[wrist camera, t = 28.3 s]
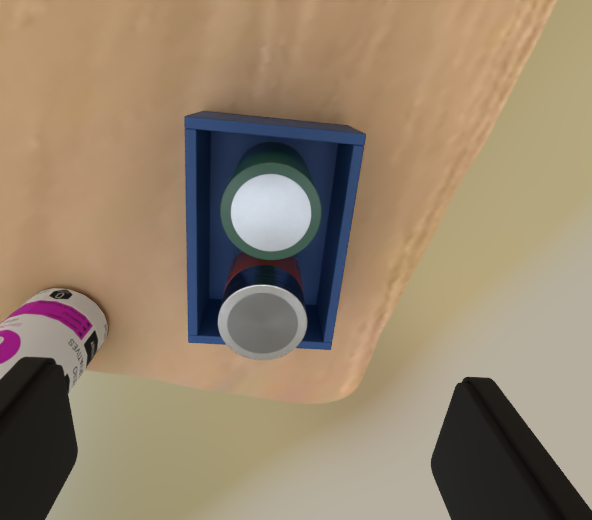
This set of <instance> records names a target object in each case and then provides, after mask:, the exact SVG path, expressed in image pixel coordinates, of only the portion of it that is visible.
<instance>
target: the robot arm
mask: <svg viewBox="0 0 592 520" xmlns="http://www.w3.org/2000/svg"><path fill="white" fill-rule="evenodd" d="M77 452H78V448H77V442H76V437H75V431H74V425H73V420H72V415H71V409H70V403H69V397H68V392H67V386H66V381H65V375H64V370H63V367H62V366H61V365H57V364H56V361H55V360H54V359H53V358H47V357H23V358H21V359H20V360H18V361H17V362H16V364H15V365H14V366H13V367H12V368H11V369H10V370H9V371H8V372H7V373H6V374H5V375H4V376H3V377H2V378H1V379H0V520H45V519H46V517H47V515H48V513H49V511H50V509H51V508H52V506H53V504H54V502H55V500H56V498H57V496H58V495H59V493H60V491H61V489H62V487H63V485H64V483H65V481H66V480H67V478H68V475H69V474H70V472H71V470H72V468H73V466H74V464H75V462H76V458H77ZM431 468H432V473H433V476H434V478H435V481H436V483H437V486H438V488H439V491H440V493H441V496H442V498H443V500H444V503H445V505H446V508H447V510H448V513H449V515H450V517H451V520H592V510H591V509H590V508H589V507H588V505H587V504H586V503H585V501H584V500H583V499H582V497H581V496H580V495H579V493H578V492H577V491H576V489H575V488H574V487H573V485H572V484H571V483H570V481H569V480H568V479H567V477H566V476H565V475H564V473H563V472H562V471H561V469H560V468H559V467H558V465H557V464H556V463H555V461H554V460H553V459H552V457H551V456H550V455H549V453H548V452H547V451H546V449H545V448H544V447H543V445H542V444H541V443H540V442H539V440H538V439H537V437H536V436H535V435H534V433H533V432H532V431H531V429H530V428H529V427H528V426H527V424H526V423H525V422H524V420H523V419H522V418H521V416H520V415H519V414H518V412H517V411H516V410H515V408H514V407H513V406H512V404H511V403H510V402H509V400H508V399H507V398H506V396H505V395H504V394H503V392H502V391H501V390H500V388H499V387H498V386H497V384H496V383H495V382H494V381H493V380H492V379H490V378H479V377H466V378H464V379H463V381H462V383H458V384H457V385H456V387H455V390H454V393H453V396H452V399H451V402H450V405H449V408H448V411H447V414H446V417H445V419H444V422H443V425H442V428H441V431H440V435H439V437H438V440H437V443H436V446H435V450H434V452H433V455H432V459H431Z"/></svg>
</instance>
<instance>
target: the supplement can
mask: <svg viewBox="0 0 592 520" xmlns="http://www.w3.org/2000/svg"><path fill="white" fill-rule="evenodd" d="M107 330H108V325H107V322H106V318H105V315H104V313H103V312H102V311H101V310H100V308H99V307H98V306H97V304H96V303H95V302H93V301H92V300H90V299H89V298H88V297H86V296H85V295H83V294H80V293H78V292H75V291H72V290H70V289H59V288H52V289H48V290H44V291H40V292H39V293H37V294H36V295H34V296H33V297H32V298H30V299H29V300H28V301H27V302H25V303H24V304H23V305H22V306H21V307H19V308H18V309H17V310H16V311H15V312H14V313H12V314H11V315H10V316H9V317H8V318H6V319H5V320H4V321H3V322H2V323H1V324H0V379H1V378H2V377H3V376H4V375H5V374H6V373H7V372H8V371H9V370H10V369H11V368H12V367H13V366H14V365H15V364H16V362H17V361H18V360H20V359H21V358H23V357H47V358H53V359H54V360H55V361H56V364H57V365H61V366H62V367H63V370H64V375H65V381H66V386H67V392H68V393H69V392H70V391H71V389H72V388H73V386H74V385H75V383H76V382H77V380H78V379H79V377H80V376H81V374H82V373H83V371H84V370H85V369H86V367H87V366H88V364H89V363H90V361H91V360H92V358H93V357H94V355H95V354H96V353H97V351H98V350H99V348H100V347H101V345H102V344H103V342H104V341H105V339H106V337H107Z"/></svg>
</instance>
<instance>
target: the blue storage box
mask: <svg viewBox="0 0 592 520" xmlns="http://www.w3.org/2000/svg"><path fill="white" fill-rule="evenodd" d="M185 128H186V129H185V172H186V232H187V292H188V342H189V343H206V344H226V343H225V342H224V341H223V339H222V337H221V335H220V332H219V329H218V315H219V311H220V307H221V303H222V299H223V294H224V290H225V286H226V282H227V278H228V274H229V271H230V267H231V264H232V260H233V256H234V253H235V251H236V249H237V247H236V246H235V245H234V244H233V243H232V242H231V240H230V239H229V238H228V236H227V234H226V232H225V230H224V228H223V225H222V222H221V217H220V205H221V199H222V196H223V193H224V191H225V189H226V187H227V185H228V183H229V181H230V179H231V177H232V175H233V173H234V171H235V169H236V167H237V165H238V163H239V161H240V159H241V158H242V156H243V155H244V154H245V153H246V152H247V151H248V150H249V149H251V148H252V147H254V146H255V145H258V144H260V143H264V142H279V143H283V144H286V145H288V146H290V147H292V148H293V149H294V150H296V151H297V152H298V153H299V154H300V155H301V157H302V158H303V159H304V161H305V163H306V165H307V168H308V170H309V173H310V175H311V177H312V180H313V182H314V185H315V187H316V189H317V192H318V194H319V197H320V201H321V207H322V217H321V223H320V226H319V229H318V231H317V233H316V235H315V237H314V238H313V240H312V241H311V242H310V243H309V245H308V246H306V247H305V248H304V249H303V250H302V251H300V252H299V253H297V255H298V258H299V264H300V271H301V276H302V284H303V291H304V299H305V307H306V314H307V329H306V333H305V335H304V337H303V339H302V341H301V342H300V343H299V345H298V346H297V347H296V348H304V349H324V350H331V346H332V339H333V333H334V327H335V321H336V315H337V309H338V303H339V297H340V291H341V284H342V278H343V272H344V266H345V260H346V254H347V248H348V242H349V236H350V229H351V223H352V217H353V211H354V205H355V199H356V193H357V187H358V181H359V175H360V168H361V162H362V156H363V150H364V144H365V138H366V134H364V133H362V132H360V131H358V130H356V129H354V128H352V127H350V126H348V125H338V124H328V123H318V122H308V121H298V120H288V119H279V118H269V117H259V116H249V115H239V114H229V113H219V112H209V111H202V112H198V113H195V114H191V115H187V116H185Z"/></svg>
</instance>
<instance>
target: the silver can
mask: <svg viewBox="0 0 592 520" xmlns="http://www.w3.org/2000/svg"><path fill="white" fill-rule="evenodd" d="M218 329H219V332H220V335H221V337H222V339H223V341H224V342H225V343H226V345H227V346H228V347H229V348H230V349H232V350H233V351H234V352H236V353H237V354H239V355H241V356H243V357H246V358H250V359H254V360H271V359H276V358H279V357H282V356H284V355H286V354H288V353H289V352H291V351H292V350H294V349H295V348H296V347H297V346H298V345H299V343H300V342H301V341H302V339H303V337H304V335H305V333H306V329H307V314H306V307H305V299H304V291H303V284H302V276H301V271H300V264H299V258H298V255H297V254H295V255H293V256H290V257H288V258H284V259H279V260H264V259H259V258H255V257H252V256H250V255H248V254H246V253H244V252H243V251H241V250H240V249H238V248H237V249H236V251H235V253H234V256H233V260H232V264H231V267H230V271H229V274H228V278H227V282H226V286H225V290H224V294H223V299H222V303H221V307H220V311H219V315H218Z"/></svg>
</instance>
